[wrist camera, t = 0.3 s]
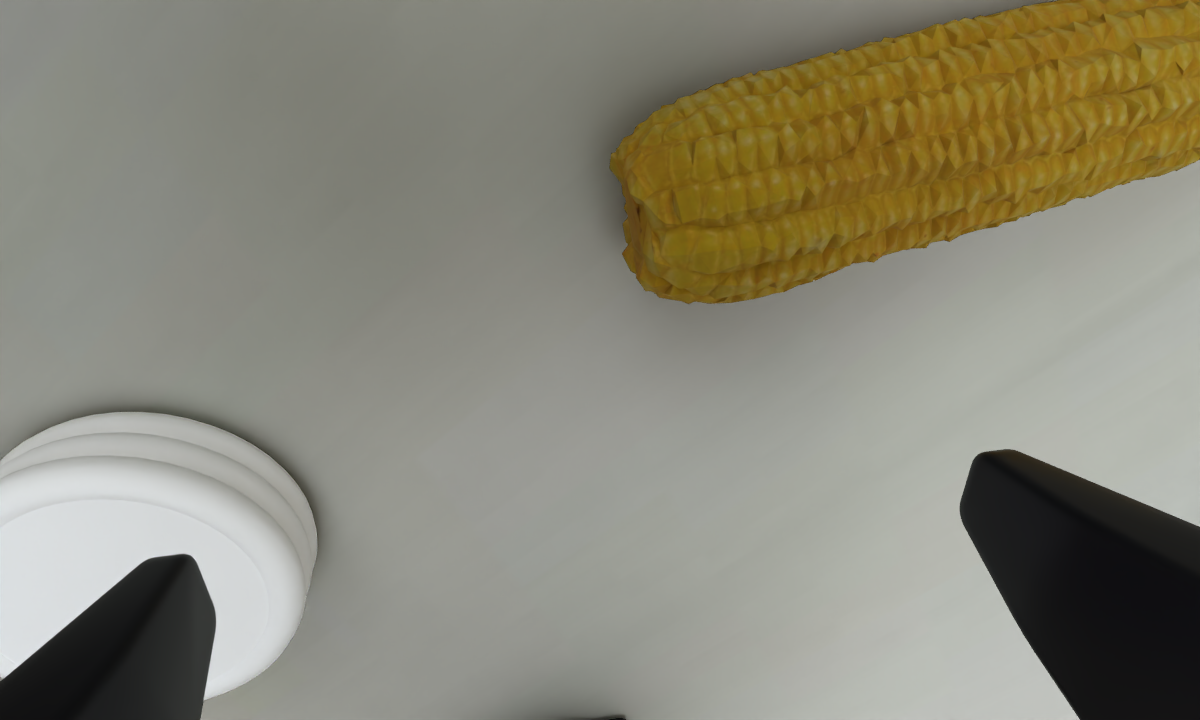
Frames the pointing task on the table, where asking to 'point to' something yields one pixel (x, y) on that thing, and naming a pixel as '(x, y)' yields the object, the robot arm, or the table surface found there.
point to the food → (906, 144)
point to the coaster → (152, 532)
